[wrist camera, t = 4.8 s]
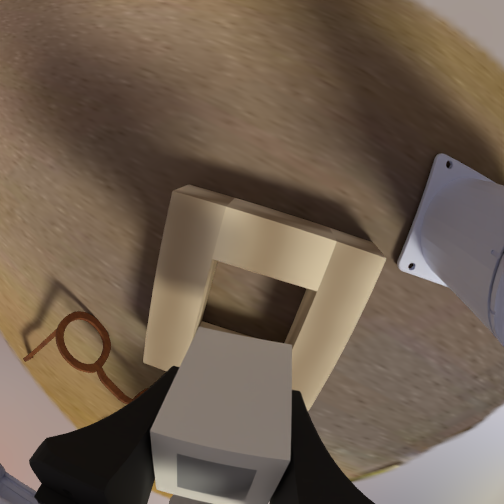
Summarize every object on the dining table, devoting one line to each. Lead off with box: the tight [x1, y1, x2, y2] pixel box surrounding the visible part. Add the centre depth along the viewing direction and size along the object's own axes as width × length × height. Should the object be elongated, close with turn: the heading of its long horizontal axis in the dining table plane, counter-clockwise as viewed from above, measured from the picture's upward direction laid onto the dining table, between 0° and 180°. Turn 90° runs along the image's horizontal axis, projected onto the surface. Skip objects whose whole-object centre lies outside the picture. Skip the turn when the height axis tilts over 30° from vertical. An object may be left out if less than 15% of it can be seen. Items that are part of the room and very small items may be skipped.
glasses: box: [23, 311, 148, 404], centre depth 24 cm, size 13×13×5 cm
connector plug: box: [150, 327, 292, 504], centre depth 11 cm, size 4×4×6 cm
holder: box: [143, 185, 386, 411], centre depth 20 cm, size 12×12×3 cm
